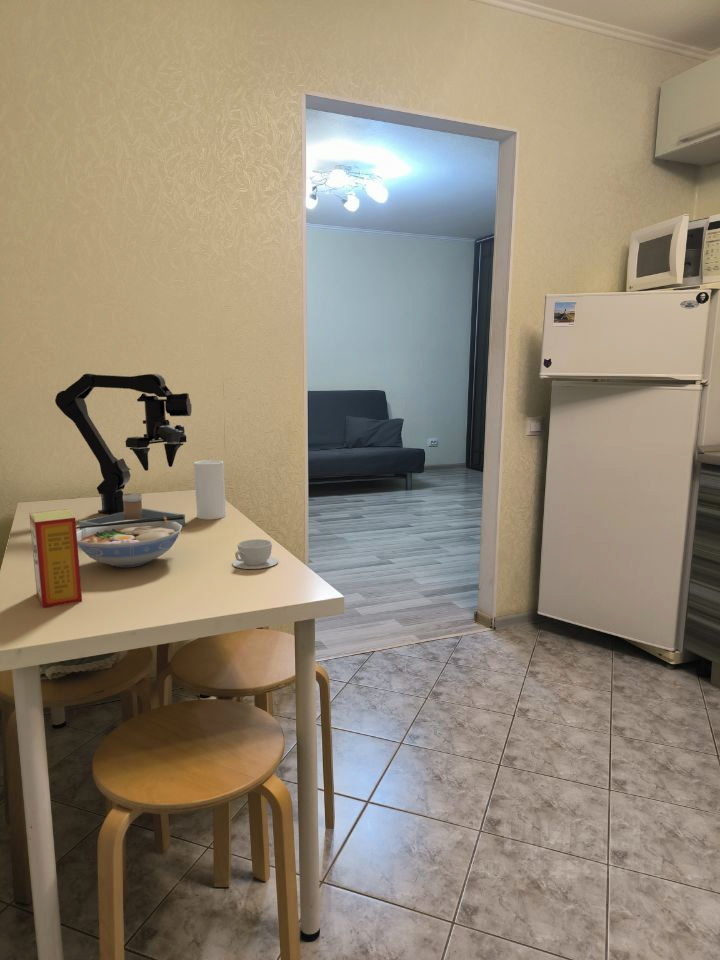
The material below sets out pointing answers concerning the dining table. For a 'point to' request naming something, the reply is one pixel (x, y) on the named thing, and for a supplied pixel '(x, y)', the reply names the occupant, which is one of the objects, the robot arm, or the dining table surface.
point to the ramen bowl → (129, 540)
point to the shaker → (132, 506)
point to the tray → (120, 517)
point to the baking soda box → (55, 557)
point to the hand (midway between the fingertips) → (158, 468)
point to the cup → (210, 489)
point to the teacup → (254, 554)
